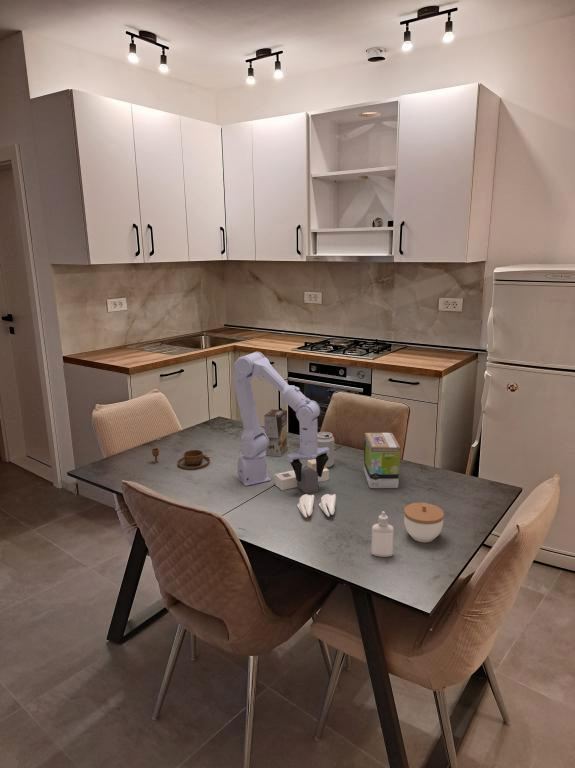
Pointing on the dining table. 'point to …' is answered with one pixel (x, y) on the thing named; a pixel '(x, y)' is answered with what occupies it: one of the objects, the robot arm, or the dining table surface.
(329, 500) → the salt and pepper shakers
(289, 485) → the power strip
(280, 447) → the coffee box
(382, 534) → the eye dropper bottle
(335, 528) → the dining table surface
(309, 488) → the block
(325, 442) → the can
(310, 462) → the beige plug
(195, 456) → the place setting
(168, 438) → the dining table surface
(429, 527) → the lidded jar
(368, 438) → the tea box
